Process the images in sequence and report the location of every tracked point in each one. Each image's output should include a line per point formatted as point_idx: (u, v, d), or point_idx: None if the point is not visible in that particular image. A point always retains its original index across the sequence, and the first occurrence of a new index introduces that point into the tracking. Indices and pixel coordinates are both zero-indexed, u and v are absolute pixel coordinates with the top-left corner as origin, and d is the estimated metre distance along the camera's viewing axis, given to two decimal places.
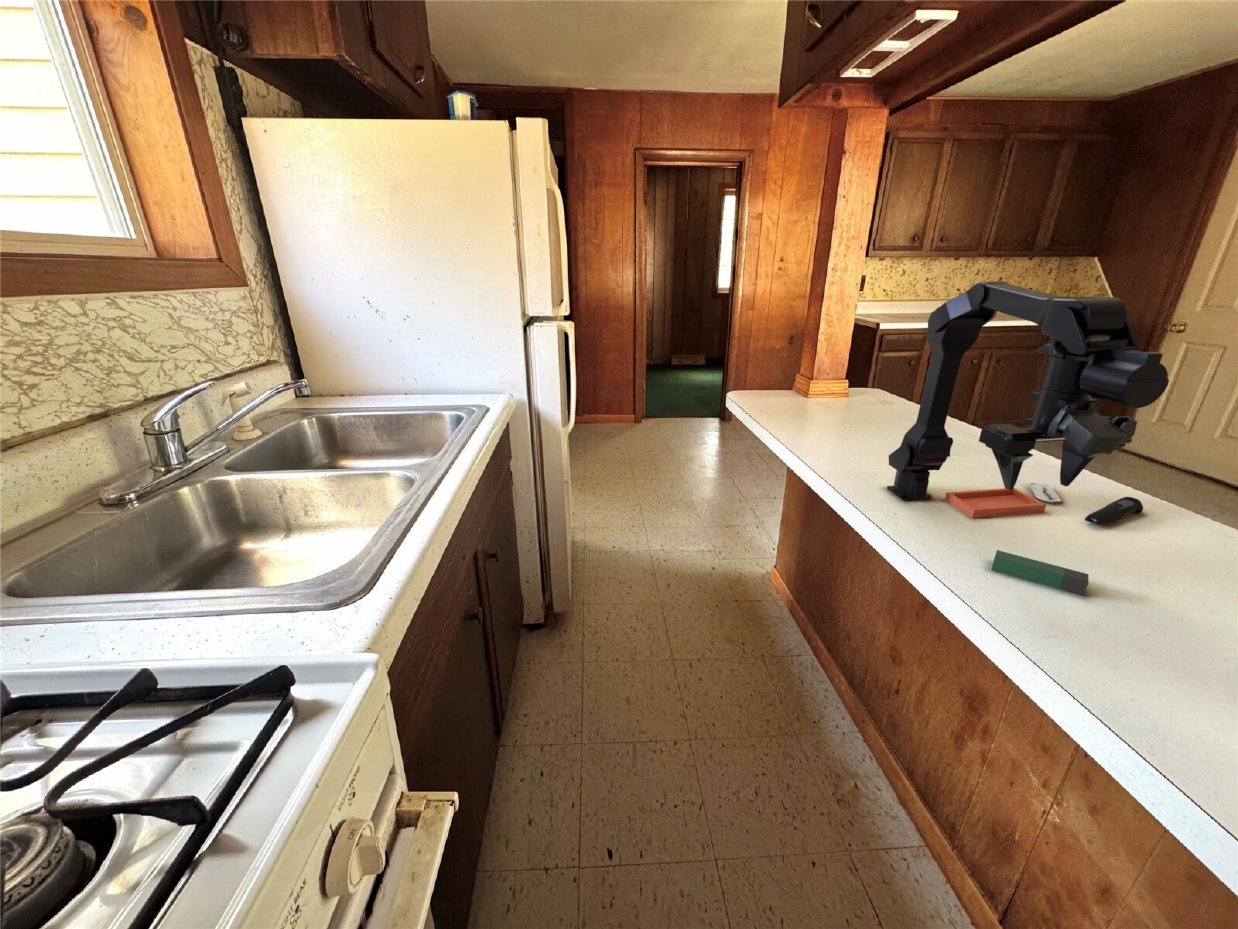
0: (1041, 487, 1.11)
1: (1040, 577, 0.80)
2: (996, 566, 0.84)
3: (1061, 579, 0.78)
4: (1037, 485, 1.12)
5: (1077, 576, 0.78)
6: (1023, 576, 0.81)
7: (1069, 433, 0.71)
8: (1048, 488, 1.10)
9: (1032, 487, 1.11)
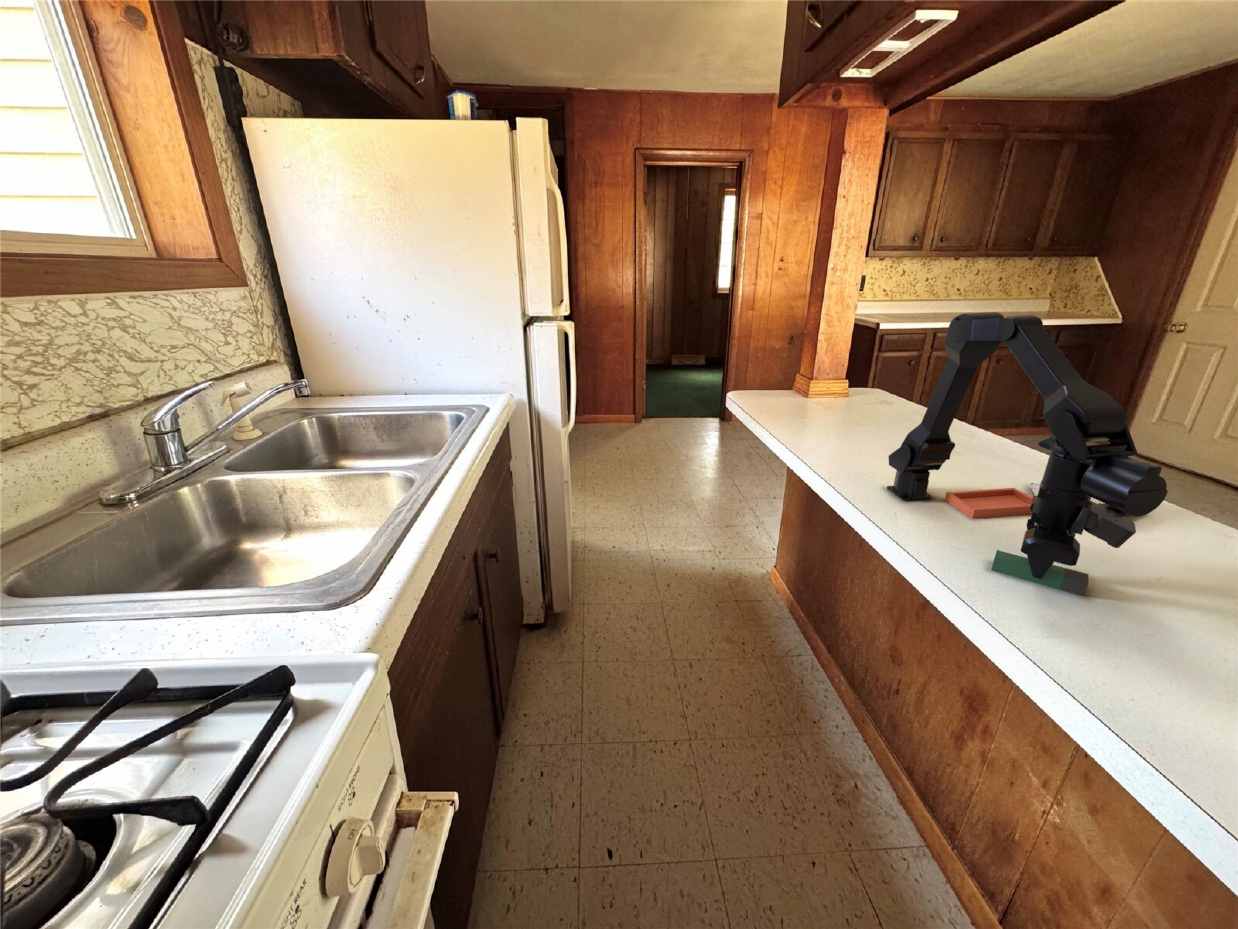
0: None
1: None
2: (996, 566, 0.84)
3: (1061, 579, 0.78)
4: (1037, 485, 1.12)
5: (1077, 576, 0.78)
6: (1023, 576, 0.81)
7: (1098, 530, 0.73)
8: None
9: (1032, 487, 1.11)
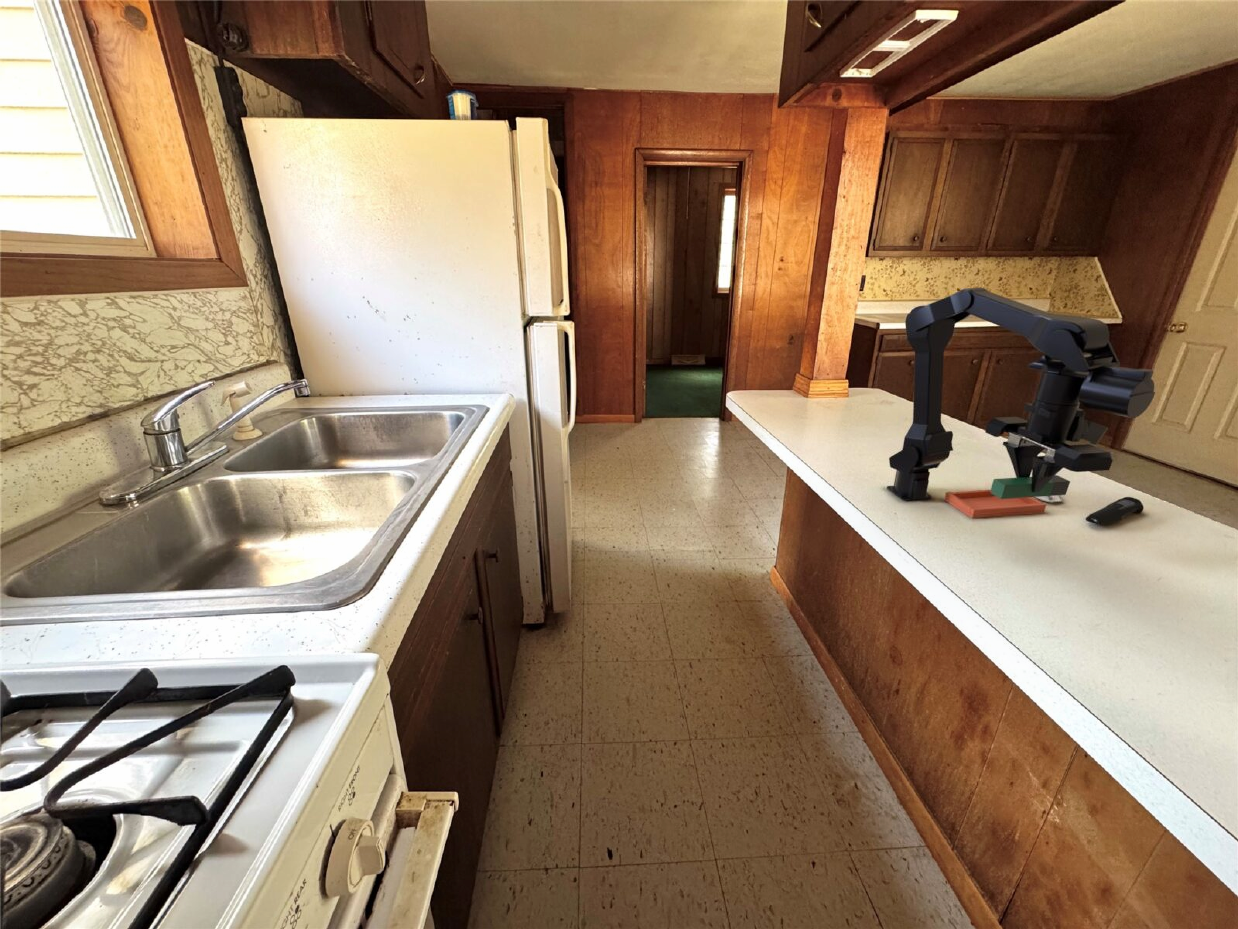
0: None
1: None
2: (1005, 494, 0.86)
3: (1052, 486, 0.86)
4: None
5: (1058, 479, 0.87)
6: (1025, 494, 0.87)
7: (1087, 433, 0.82)
8: None
9: None
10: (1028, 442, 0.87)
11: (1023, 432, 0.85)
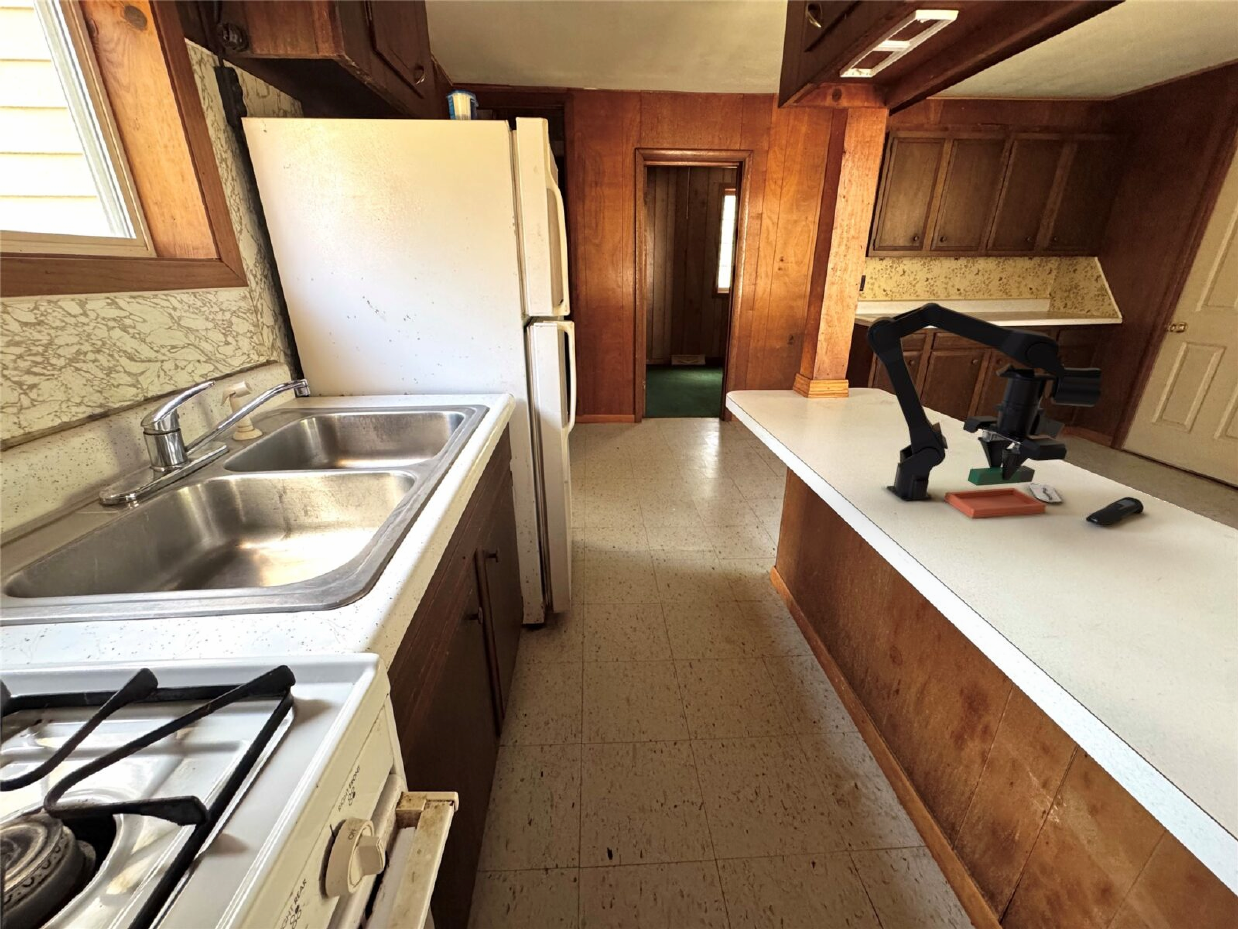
0: (1041, 487, 1.11)
1: None
2: (980, 481, 1.01)
3: (1020, 474, 1.01)
4: (1037, 485, 1.12)
5: (1025, 468, 1.02)
6: (997, 482, 1.01)
7: (1047, 429, 0.96)
8: (1048, 488, 1.10)
9: (1032, 487, 1.11)
10: (999, 437, 1.01)
11: (994, 428, 0.99)
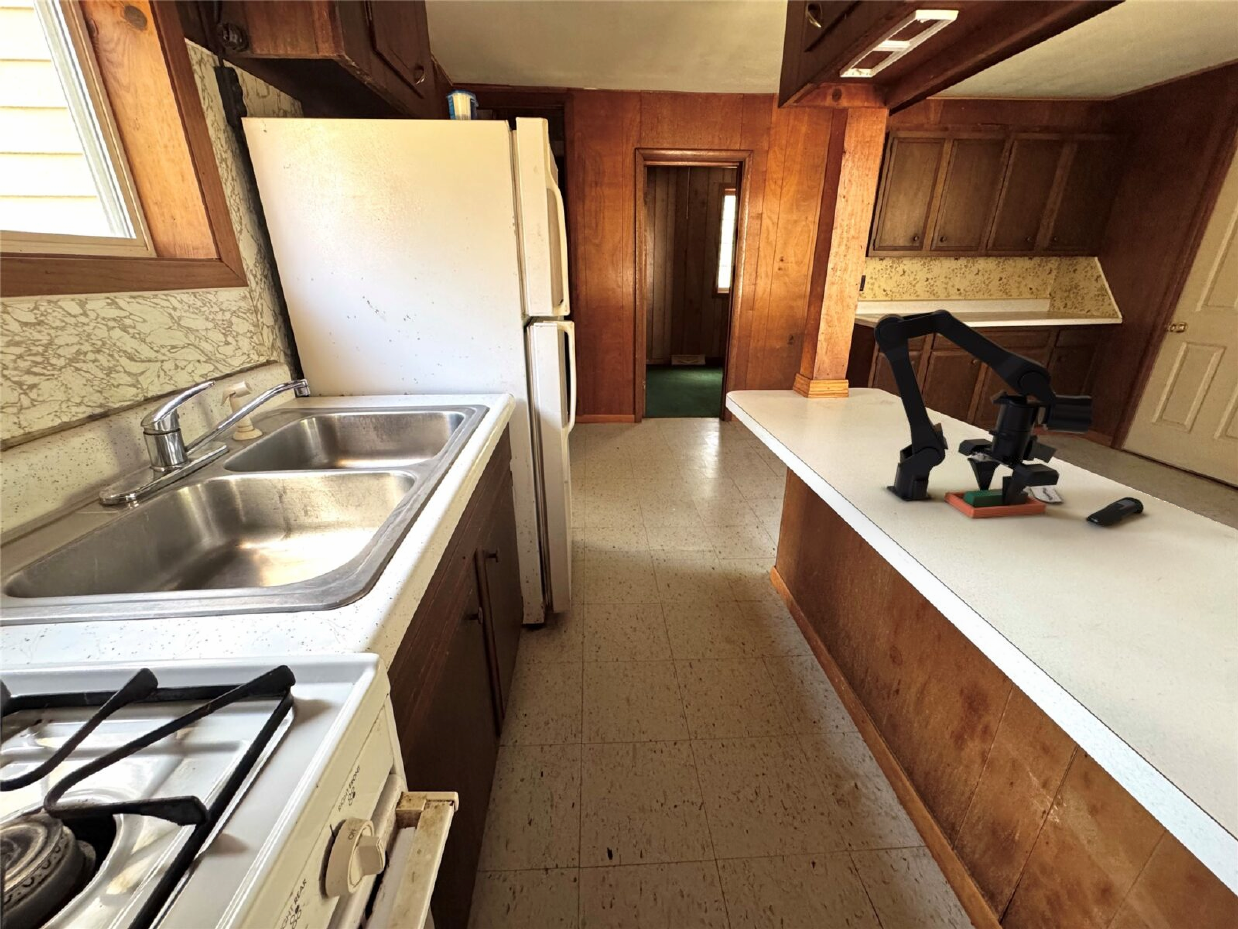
0: (1041, 487, 1.11)
1: (1001, 501, 1.03)
2: (975, 504, 1.02)
3: None
4: None
5: None
6: (991, 504, 1.03)
7: (1040, 454, 0.98)
8: (1048, 488, 1.10)
9: (1032, 487, 1.11)
10: (987, 458, 1.04)
11: (988, 453, 1.01)
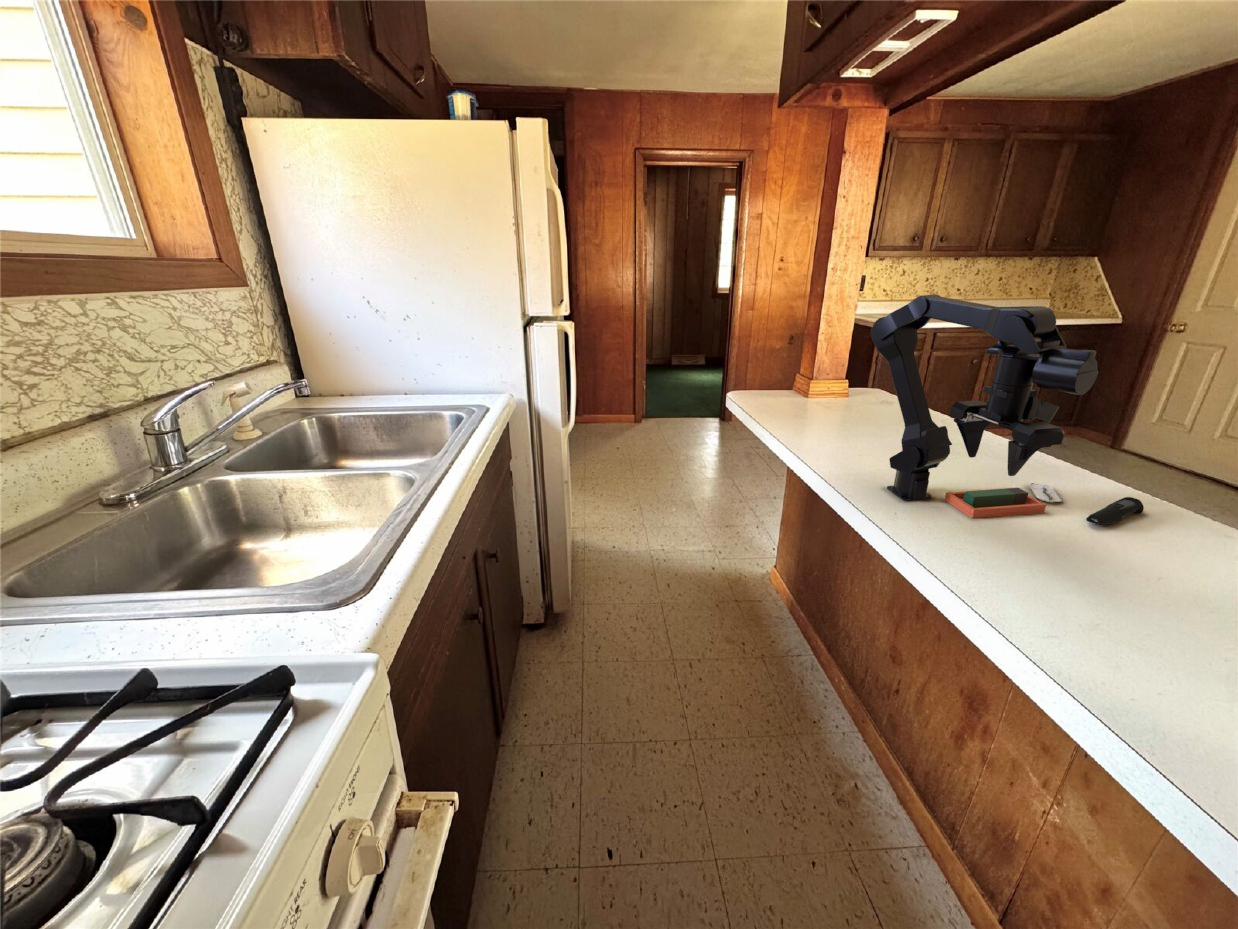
0: (1041, 487, 1.11)
1: (1001, 501, 1.03)
2: (975, 504, 1.02)
3: (1013, 497, 1.03)
4: (1037, 485, 1.12)
5: (1019, 491, 1.03)
6: (991, 504, 1.03)
7: (1041, 412, 0.88)
8: (1048, 488, 1.10)
9: (1032, 487, 1.11)
10: (975, 418, 0.96)
11: (983, 413, 0.91)
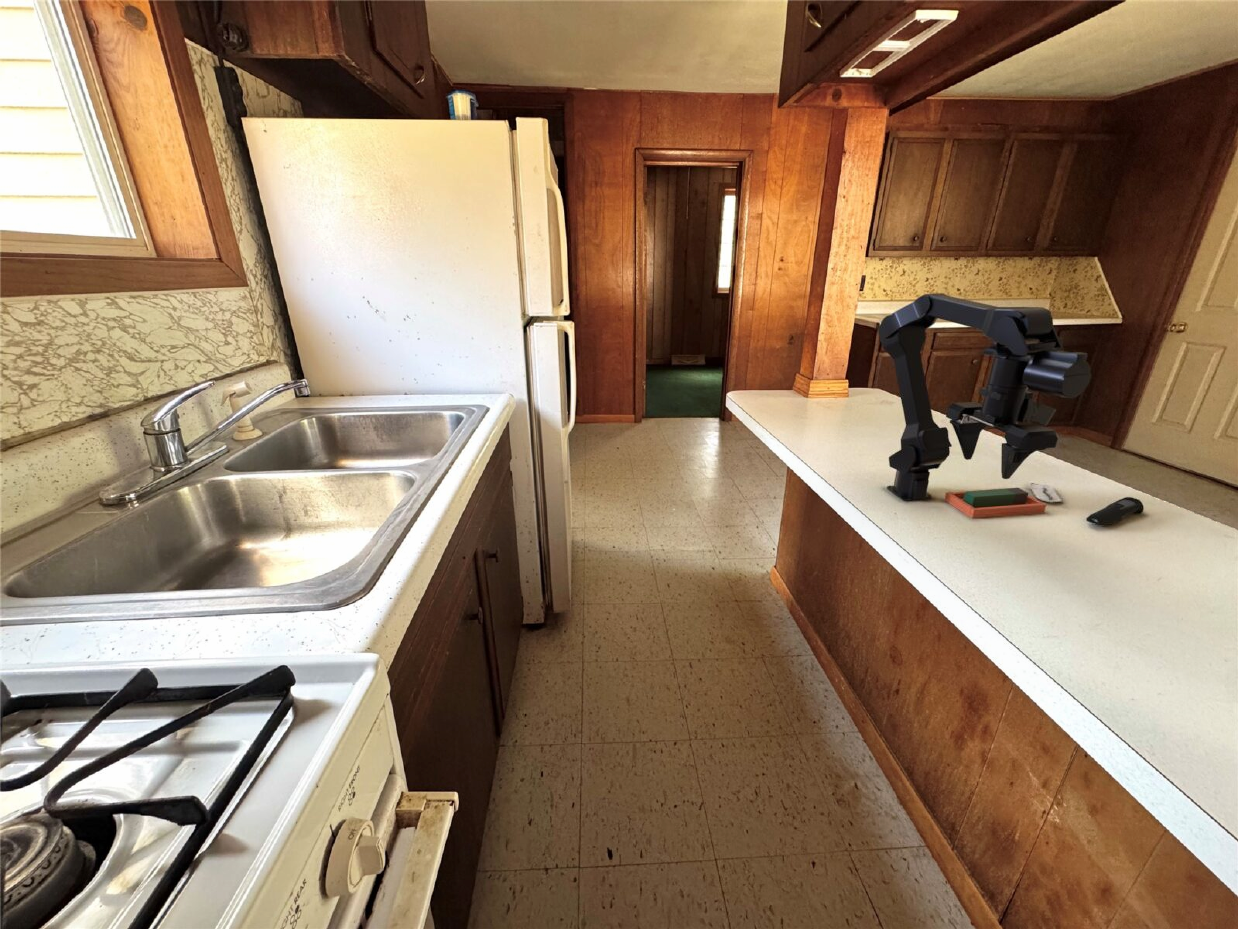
0: (1041, 487, 1.11)
1: (1001, 501, 1.03)
2: (975, 504, 1.02)
3: (1013, 497, 1.03)
4: (1037, 485, 1.12)
5: (1019, 491, 1.03)
6: (991, 504, 1.03)
7: (1037, 415, 0.87)
8: (1048, 488, 1.10)
9: (1032, 487, 1.11)
10: (971, 419, 0.95)
11: (978, 415, 0.90)
